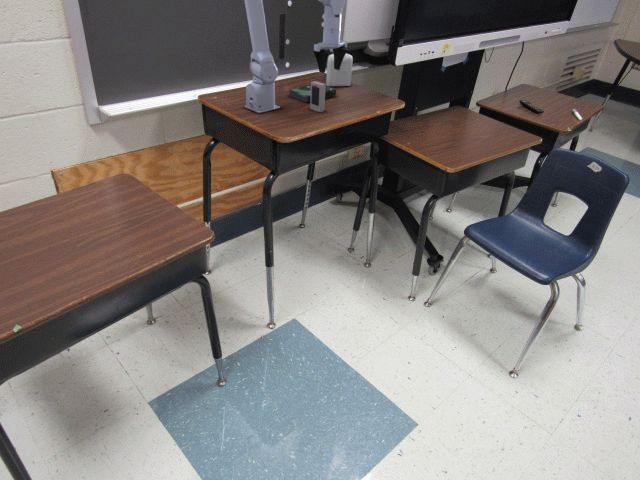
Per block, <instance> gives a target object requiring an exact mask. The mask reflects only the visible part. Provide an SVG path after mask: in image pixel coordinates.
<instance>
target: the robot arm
mask: <svg viewBox="0 0 640 480" xmlns="http://www.w3.org/2000/svg"><path fill="white" fill-rule="evenodd" d="M243 1H244V7H245V12H246V17H247V23H248V24H247V25H248V29H249V37H250V43H251V48H252V52H251V53H250V62H249V71H250V73H251V74H252V75H253V77H252V82H250V83H248V84H247V85H246V87H245V106H244V108H245V109H248V110H250V111H252V112H255V113H258V114H262V113H266V112H270V111H274V110H279V109H281V106H280V105H277V104H276V79H277V78H278V75H279V69H278V67H277V65H276V63H275V60H274V56H273V54H272V53H271V50H270V43H269V38H268V32H267V23H266V16H265V11H264V2H263V0H243ZM317 1H318V2H320V3H321V4H322V5H323V6H324V13H323V31H322V32H323V33H322V41H321V42H319V43H315V44H313V52H312V53H313V55H314V57H315V59H316V62H317V67H318V72H319V73H321V74H325V73H326V70H327V62H328V57H329V55H330V53H329V52H327V50H332V54H334V69H336V70H340V67H341V63H342V61H343V58H344V56H345V54H348V40H341V30H342V29H341V27H342V14H343V9H344V7H345V5H346V2H347V0H317Z"/></svg>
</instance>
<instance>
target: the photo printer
mask: <svg viewBox="0 0 640 480" xmlns="http://www.w3.org/2000/svg"><path fill="white" fill-rule="evenodd" d="M353 61H354V59H353V55H351V54H349V53H346V54H345V56H344V58H343V61H342V63H341V67H340V70H336V69H334V54H333V53H331V54H329V55H328V57H327V63H326V81H325V83H326V86H328V87H350V86H351V84H352V82H351V81H352V74H353V73H352V72H353V64H354V63H353Z"/></svg>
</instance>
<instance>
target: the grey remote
mask: <svg viewBox="0 0 640 480" xmlns="http://www.w3.org/2000/svg"><path fill="white" fill-rule="evenodd" d="M310 85H311V97H310V102H309V109H310V110H312V111H315V112H318V113H322V112H325V106H326V105H325V104H326V98H325V89H326V86H327V85H326V84H325V83H323V82H320V81H317V80H315V81H310Z"/></svg>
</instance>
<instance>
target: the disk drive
mask: <svg viewBox="0 0 640 480" xmlns="http://www.w3.org/2000/svg"><path fill="white" fill-rule="evenodd" d="M288 96H289V97H291V98H293V99H297V100H300V101H302V102H305V103H310V97H311V84H307V85H302V86H298V87H293V88H289V90H288ZM335 96H337V89H336V88H335V87H332V86H327V85H326V89H325V99H328V98H332V97H335Z"/></svg>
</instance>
